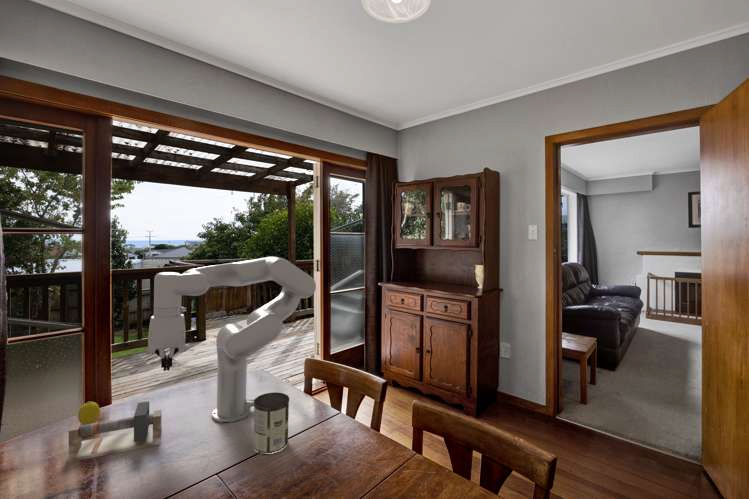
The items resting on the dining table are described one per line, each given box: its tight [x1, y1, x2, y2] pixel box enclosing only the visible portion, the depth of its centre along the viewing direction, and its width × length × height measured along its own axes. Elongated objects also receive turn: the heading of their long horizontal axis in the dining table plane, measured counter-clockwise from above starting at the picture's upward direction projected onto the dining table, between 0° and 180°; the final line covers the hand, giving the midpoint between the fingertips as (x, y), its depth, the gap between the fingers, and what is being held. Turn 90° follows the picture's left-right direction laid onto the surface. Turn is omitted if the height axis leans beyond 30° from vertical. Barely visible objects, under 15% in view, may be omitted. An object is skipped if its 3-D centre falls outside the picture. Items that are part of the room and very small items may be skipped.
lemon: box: [77, 401, 101, 425], centre depth 118 cm, size 6×6×8 cm
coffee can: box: [253, 391, 290, 453], centre depth 111 cm, size 10×10×14 cm
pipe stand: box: [65, 409, 163, 463], centre depth 108 cm, size 22×9×8 cm, turn 116°
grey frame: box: [133, 401, 150, 442], centre depth 111 cm, size 3×9×8 cm, turn 26°
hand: (166, 369), depth 116 cm, fingers closed
